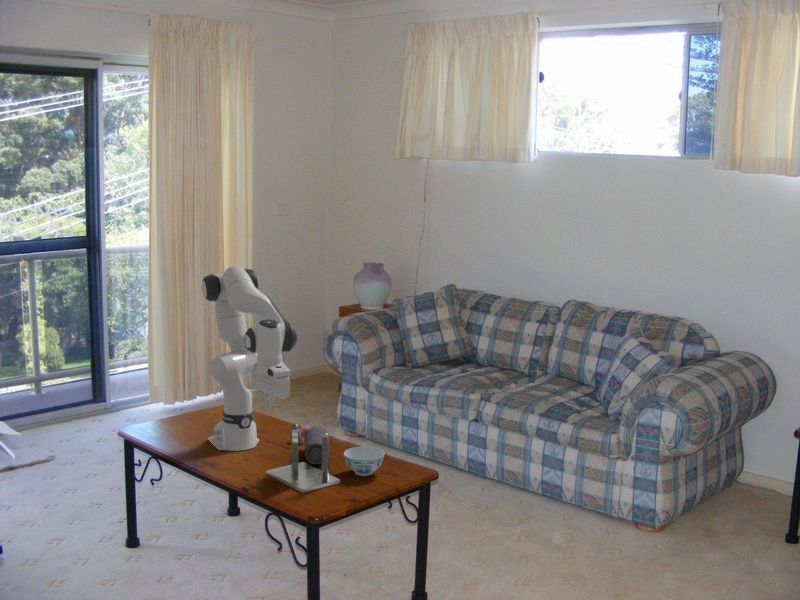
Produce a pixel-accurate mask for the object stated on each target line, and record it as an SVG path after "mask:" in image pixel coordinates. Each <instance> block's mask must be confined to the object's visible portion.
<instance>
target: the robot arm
mask: <svg viewBox="0 0 800 600" xmlns="http://www.w3.org/2000/svg"><path fill="white" fill-rule="evenodd" d="M259 281H260V280H259V277H258V275H257V273H256V271H254V270H253V269H250V268H243V267H241V266H235V265H234V266H231V267H228V268H227V269H225V271H222V272H218V273H217V272H216V273H214V274H213V273H211V274H208V275H205V276H203V279H202V281H201V285H200V287H201V292H202V295H203V297H204V299H206V300H207V301H208V302H215V303H214V305H215V307H214V309H215V318H216V324H217V326H216V327H217V332H218V337H219V338H220V340H221V341H223V342H225V343H226V344H227V346H228V347H229V349H230V351H229V352H224V353H221V354H219V355H217V356H216V357H214V358H212V359H211V360H210V363H209V366H208V367H209V368H208V369H209V373H210V375H211V377H212V378H213V380H215V381H216V382H217V383H218V384H219V386H220V388H221V390H222V393H223V406H224V407H223V411H221V415H222V416H221V420H220V421H219V422H218V423H217V424H215V426H214V427H213V431H212V436H209V437H208V438H207V441H208V440H209V441H210V442H211V443H212V444H213V445H214V446H215V447H216V448H217V449H218V450H217V449H216V448H215V447H214V446H213V445H212V444H211V443H210V442H209V441H208V442H209V443H210V444H211V445H212V446H213V447H214V448H215V449H216V450H217V451H233V452H234V451H235V452H236V451H238V452H239V451H246V450H251V449H253V448H255V447H257V444H258V443H260V442H259V441H260V439H259V438H258V437H257V436H258V434H257V424H256V422H255V421H254V410H253V393H252V391H251V390H250V389H249V388H248V387H246V386H245V384H244V381H243V380H244V378H245V377H249V376H250V377H251V379H250V384H251V388H252V389H255V390H257V391H259V392H262V393H263V394H262V395H263V397H264V400H265V406H268V407H270V408H272V407H274V406H275V401H276V399H278V400H284V399H288V398H289V397H290V393H291V381H290V377H289V376H290V375H291V369H290V368H289V367H288V366H287V365H286V364H285V362H284V361H283V355H282V352H283V353H285V352H287V353H288V352H291V351H292V349H293V348H295V346H296V345H297V342H298V334H297V331H296V329H295V328H294V326H293V325H292V324H291V323H290V322H288V320H287V319H286V318H285V317H284V315H283V314H282V312H281V310H279V308H278V307H277V306H276V303H274V301H273V300H272V299H271V298H270V297H269V296H268V295H266V294H264V293H262V292H261V291H260V289H259V285H260V284H259ZM245 314H250V315H251V314H253V315H257V316H261V317H264V318H265V319H261V320H260V321H258V323H257V325H255V326H250V327H249V328H248V329H247V323H246V317H245Z"/></svg>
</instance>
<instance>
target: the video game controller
mask: <svg viewBox="0 0 800 600" xmlns="http://www.w3.org/2000/svg"><path fill="white" fill-rule="evenodd" d="M311 428H312V427H311V426H310V425H304V426H300V427H298V444H301V445H304V444H305V441H306V437H307V434H308V432H309V430H310V429H311Z"/></svg>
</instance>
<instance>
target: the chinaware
mask: <svg viewBox="0 0 800 600" xmlns="http://www.w3.org/2000/svg"><path fill="white" fill-rule="evenodd" d="M343 457H344V460H345V462H346V465H347V466H348V467H349V468H350V470H352V471H353V472H354V474H355V475H356V476H358V475H359V476H360V477H368V476H369V475H370V476H372V475H373V474H374V472H375V471H376V470H377V469H379V468H380V467H381V465H382V463H383V461H384V459H385V458H384V457H385V451H384V450H383V449H380V448H378V447H373V446H356V447H351V448H348V449H346V450H344V452H343Z"/></svg>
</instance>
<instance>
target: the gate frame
mask: <svg viewBox="0 0 800 600" xmlns="http://www.w3.org/2000/svg"><path fill="white" fill-rule="evenodd" d="M290 426H291V427H290V428H291V436H292V430H298V428H299V424H298V423H292V424H291V425H290ZM327 433H328V432H327ZM327 433H324V434H323V437H322V463H321V469H319V468H317V467H315V466H312V465H311V464H308V463H306V462H304V461H302V462H301V461H300V462H298V481H293V460H292V459H291V464H289V465H284V466H280V467H274V468H272V469H268V470H266V473H265V474H266V475H268V476H270V477H272V478H273V479H276V480H277V481H280V482H281V483H283V484H285V485H287V486H289V487H291V488H293V489H295V490H296V491H298V492H300V493H301V494H304V493H306V492H311V491H314V490H319V489H323V488H326V487H330V486H334V485H337V484H338V485H339V484H341V479H340V478H338V477H336V476H334V475H331V474H330V436H329V433H328V434H327Z"/></svg>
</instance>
